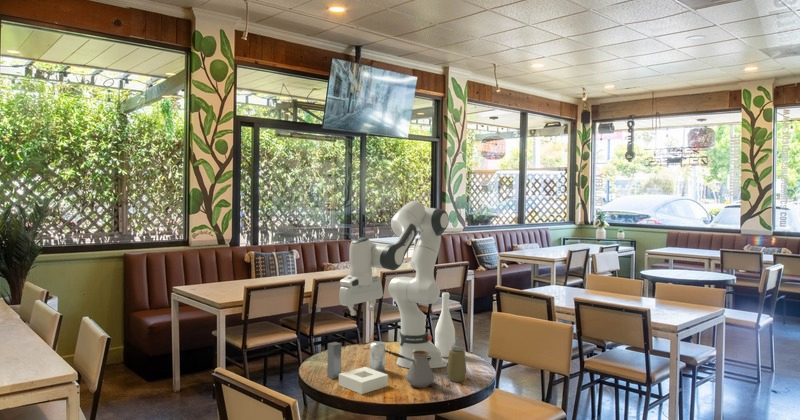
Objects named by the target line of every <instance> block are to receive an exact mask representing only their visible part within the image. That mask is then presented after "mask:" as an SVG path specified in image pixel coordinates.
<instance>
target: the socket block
mask: <svg viewBox="0 0 800 420" xmlns="http://www.w3.org/2000/svg"><path fill="white" fill-rule="evenodd" d="M338 386H340V387H342V388H345V389H348V390H350V391H353V392H355V393H358V394H360V395H363V394H366V393H369V392H374V391H377V390H379V389H383V388H387V387H388V386H389V374H387V373H385V372H383V373H382V372H379V371H376V370H373V369H370V367H367V366H363V367H359V368H355V369H352V370H348V371H345V372H341V373H340V374H339V378H338Z"/></svg>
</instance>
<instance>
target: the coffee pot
mask: <svg viewBox="0 0 800 420" xmlns="http://www.w3.org/2000/svg"><path fill="white" fill-rule="evenodd" d="M386 353H387V354H388V355H392V356H394V357H397V358H398V357H400V358H403V359H407V360H409V361H412V364H411V366H410V368H408V371H407V373H406V376H405V379H406V381H407V382H408V383H409V384H410V386H412V387H414V388H427V387H429V386H430V385H432V383H433V382H434V380H435V375H434V373H433V370H432V368H431V367H430V365H429V362H428V360H427V355H428V354H429V353H428V352H426V351H414V352H413V355H414V359H410V358H407V357H404V356H402V355H400V354H399V353H396V352H394V351H393V352H392V351H391V350H387V349H385V355H386ZM383 355H384V352H383Z"/></svg>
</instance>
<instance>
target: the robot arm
mask: <svg viewBox="0 0 800 420" xmlns="http://www.w3.org/2000/svg"><path fill="white" fill-rule="evenodd" d="M449 223H450V219H449V214H448V213H447V211H446V210H444V209H442V208H435V207H425V206H424V204H422V203H421V202H420V201H418V200H411V201H409V202H408V203H406V204H404V205H403V206H402V207H401V208H400V209H398V211H397V212H396V213H395V214H394V215H393V216H392V218H391V221H390V228H391V230H392V232H393V233H394V234H395V236H397V237H398V239H397V240H396V242H395V243H392V244H380V243H379V244H378V243H375V242H372V241H371V240H370V238H368V237H365V236H364V237H361V236H360V237H357V238H354V239H352V240H351V241H350V245H349V251H348V253H349V254H348V255H349V257H348V258H349V264H350V269H349V274H348V275H346V276H344V277H343V278H342V279H340V280H339V285H340V288H339V294H338V295H339V304H340V305H341V306H345V307H347V308H348V310H349V311H350V316H351V317H352V316H353V317H354V316H356V315H357V311H356V310H355V309H354V307H355V305H358V304H361V303H366V302H370V304H369V306H368V307H367V310H368V311H369V312H374V311H375V305H376V303H377V300H378V299H382V298H383V295H384V291H383V290H384V289H383V285H382V279H381V277H380V276H379V275H373V269H372V268H376V269H384V270H390V271H397V270H398V269H399V268H400V267H401V266H402V264H403V262H404V259H405V256H406V254H407V252H408V251H409V249H410V247H411V245H413V242H414V240H415V239H416V236H417V234H418V233H417V232H420V235H419V237H418V239H417V241H416V244H415V247H414V250H413V253H412V256H411V259H410V265H411V267H412V269H413V270H414V271H415V277H411V276H395V277H393V278H392V279H391V280H390V282H389V284H388V289H387V291H388V293H389V296H390V297H391V298H392V299H393V301H394V302H395V303H396V305H397V308H398V311H399V316H400V332H399V343H398V344H399V352H398V354H400V355H402V356H404V357H407V358H410V359H414V355H413V352H414V351H426V352H428V353H429V354H428V355H427V360H428V362H429V365H430V367H431V369H441V368H447V367H448V361H446V359H444V357H442V356H441V352H440V350H439V348H437V347H436V346H435V343H433V342H432V341H431V340H432V339H433V336H432V335H431V334H429V333H428V332H426V315H425V313H424V312H423V311H422V310H420V308H419V307H418V304H420V305H429V304H430V305H431V304H435V303H436V302H437V301H439V298H440V294H441V289H440V285H439V284H438V282H437V281H436V279H435V275H434V273H435V271H434V270H435V266H436V262H437V258H438V255H439V251H440V247H441V241H442V234H444V232H445V231H446V229H447V228H448V225H449ZM411 364H412V361H409V360H407V359H403V358H400V357H397V361H396V365H397V366H399V367H402V368H406V369H409V368H410V366H411Z"/></svg>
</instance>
